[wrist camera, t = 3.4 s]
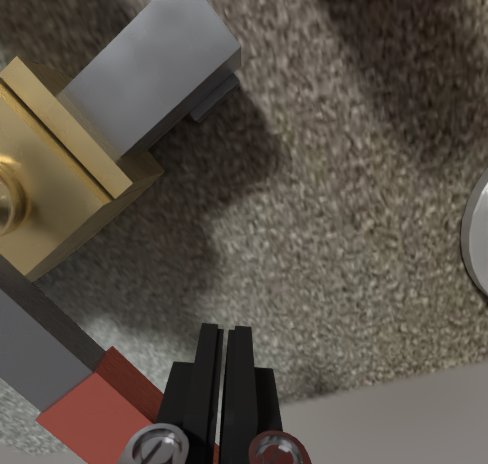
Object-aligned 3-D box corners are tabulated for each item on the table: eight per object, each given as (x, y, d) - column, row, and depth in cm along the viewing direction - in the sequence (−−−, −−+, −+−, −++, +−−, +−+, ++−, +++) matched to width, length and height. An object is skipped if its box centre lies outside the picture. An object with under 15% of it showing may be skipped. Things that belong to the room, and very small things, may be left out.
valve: (184, 0, 18) (131, -134, 9) (255, 93, 19) (267, 52, 10) (-72, 251, 21) (-287, 326, 13) (2, 317, 23) (-148, 426, 14)
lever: (-113, 198, 11) (-229, 216, 8) (-52, 134, 11) (-154, 130, 8) (185, 465, 14) (172, 543, 11) (244, 425, 14) (245, 496, 11)
